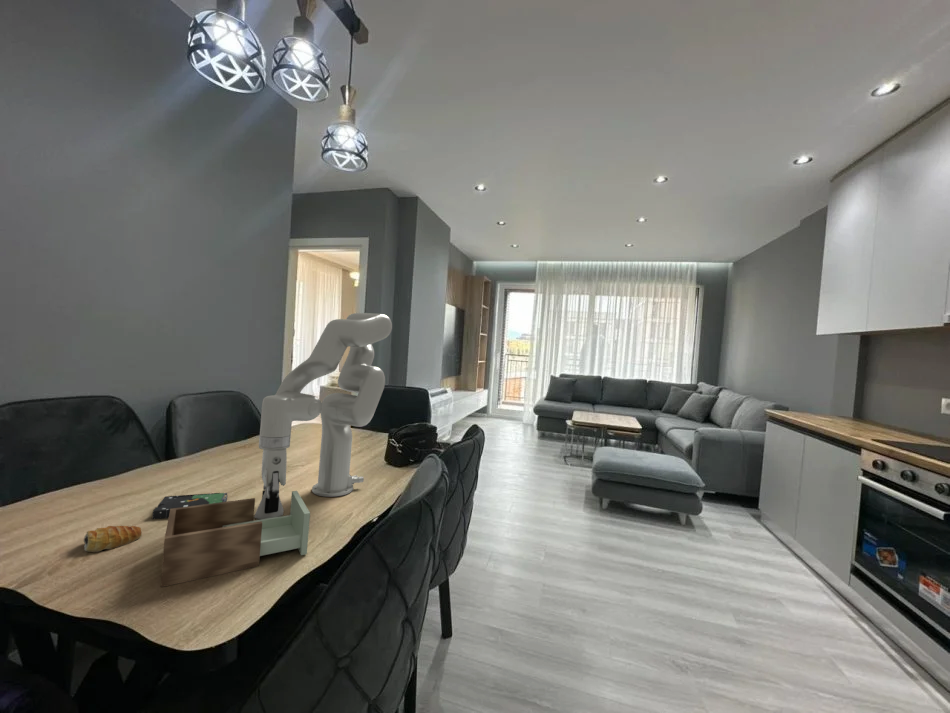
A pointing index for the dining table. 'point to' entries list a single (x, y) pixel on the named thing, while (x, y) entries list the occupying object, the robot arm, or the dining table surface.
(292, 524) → the tray
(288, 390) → the robot arm
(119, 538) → the pastry
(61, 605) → the dining table surface
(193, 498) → the disk drive
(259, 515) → the flask
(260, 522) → the caddy
